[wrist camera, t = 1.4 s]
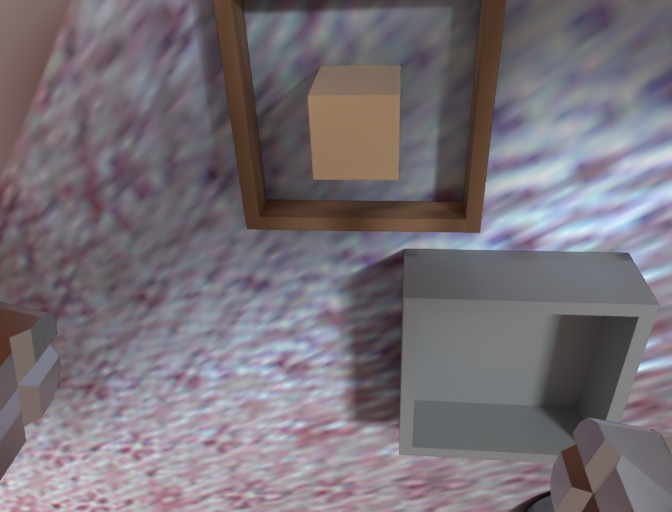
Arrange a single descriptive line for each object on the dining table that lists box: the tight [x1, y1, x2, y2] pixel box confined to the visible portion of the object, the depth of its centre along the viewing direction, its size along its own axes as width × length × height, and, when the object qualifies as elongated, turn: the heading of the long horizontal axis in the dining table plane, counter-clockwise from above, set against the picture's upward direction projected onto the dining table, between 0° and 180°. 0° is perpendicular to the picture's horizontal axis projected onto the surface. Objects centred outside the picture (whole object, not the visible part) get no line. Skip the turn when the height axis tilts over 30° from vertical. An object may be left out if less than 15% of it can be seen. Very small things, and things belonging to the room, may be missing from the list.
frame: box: [213, 0, 506, 233], centre depth 36 cm, size 16×16×2 cm
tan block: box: [308, 64, 401, 180], centre depth 35 cm, size 5×5×6 cm
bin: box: [399, 249, 660, 463], centre depth 44 cm, size 16×16×6 cm
